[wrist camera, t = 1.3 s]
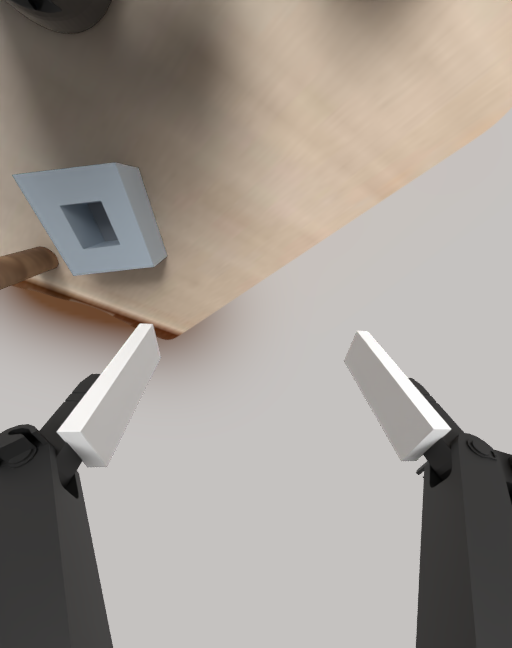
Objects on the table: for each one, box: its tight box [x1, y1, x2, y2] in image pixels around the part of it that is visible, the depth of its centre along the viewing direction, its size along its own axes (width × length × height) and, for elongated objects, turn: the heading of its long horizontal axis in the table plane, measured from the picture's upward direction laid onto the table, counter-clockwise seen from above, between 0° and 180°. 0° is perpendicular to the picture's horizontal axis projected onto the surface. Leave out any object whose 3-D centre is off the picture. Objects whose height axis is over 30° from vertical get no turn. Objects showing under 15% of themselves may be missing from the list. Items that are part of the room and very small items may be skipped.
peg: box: [0, 247, 58, 290], centre depth 29 cm, size 4×4×12 cm
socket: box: [12, 162, 167, 276], centre depth 29 cm, size 12×12×6 cm
